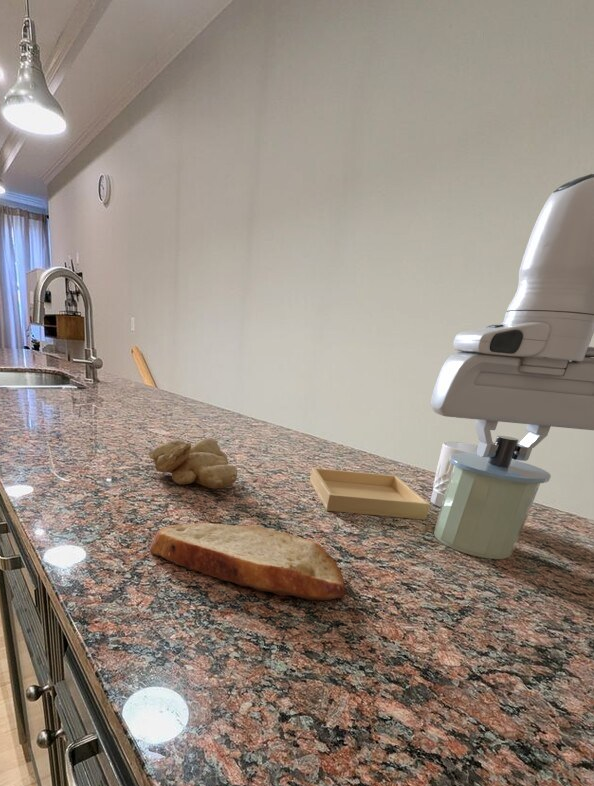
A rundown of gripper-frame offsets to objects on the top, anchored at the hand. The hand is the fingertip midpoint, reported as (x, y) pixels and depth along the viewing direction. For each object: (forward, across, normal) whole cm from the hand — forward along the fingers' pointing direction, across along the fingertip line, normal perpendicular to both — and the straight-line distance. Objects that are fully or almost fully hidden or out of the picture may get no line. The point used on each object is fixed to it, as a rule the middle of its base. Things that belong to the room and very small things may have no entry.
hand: (501, 457), depth 57 cm
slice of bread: (+12, +32, +13) cm, 37 cm away
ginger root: (+12, +40, -16) cm, 45 cm away
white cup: (+12, -4, -15) cm, 20 cm away
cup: (+12, 0, 0) cm, 12 cm away
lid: (+2, 0, 0) cm, 2 cm away
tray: (+12, +11, -14) cm, 21 cm away
